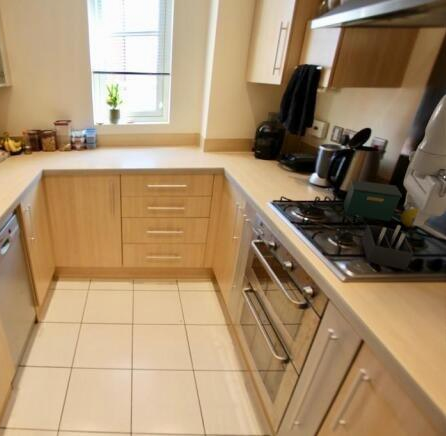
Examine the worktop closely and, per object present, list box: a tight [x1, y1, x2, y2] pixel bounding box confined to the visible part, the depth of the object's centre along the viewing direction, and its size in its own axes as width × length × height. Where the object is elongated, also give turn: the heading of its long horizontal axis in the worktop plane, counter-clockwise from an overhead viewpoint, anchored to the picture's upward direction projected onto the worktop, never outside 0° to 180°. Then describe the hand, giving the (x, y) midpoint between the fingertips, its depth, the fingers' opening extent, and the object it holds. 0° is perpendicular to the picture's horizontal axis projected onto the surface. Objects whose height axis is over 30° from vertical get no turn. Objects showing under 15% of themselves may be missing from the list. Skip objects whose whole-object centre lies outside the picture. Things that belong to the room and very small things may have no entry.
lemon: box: [400, 206, 419, 228], centre depth 112 cm, size 6×6×8 cm
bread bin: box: [343, 179, 403, 222], centre depth 121 cm, size 14×11×11 cm
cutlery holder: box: [361, 224, 415, 271], centre depth 95 cm, size 9×14×10 cm, turn 152°
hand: (411, 216), depth 79 cm, fingers open, 8 cm apart
